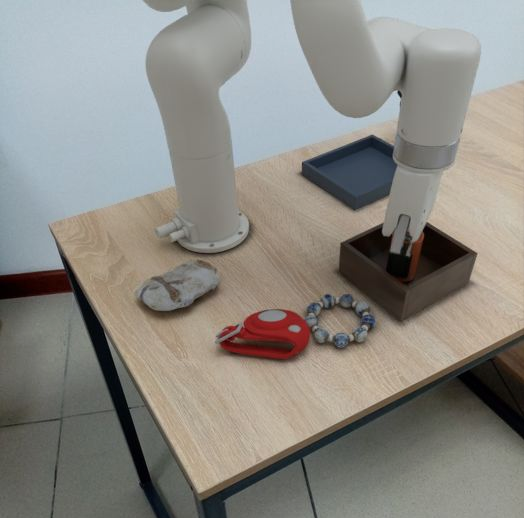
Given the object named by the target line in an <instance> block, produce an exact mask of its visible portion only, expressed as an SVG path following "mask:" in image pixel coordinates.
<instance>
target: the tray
mask: <svg viewBox="0 0 524 518" xmlns="http://www.w3.org/2000/svg"><path fill="white" fill-rule="evenodd" d="M393 151H394V144H391V142H390V143H389V142H388V141H386V140H384V139H382V138H380V137H378V136H376V135H375V134H373V133H372V134H370V135H367V136H365V137H362V138H359V139H358V140H355V141H352V142H349V143H347V144H345V145H341V146H339V147H337V148H334V149H332V150H329V151H327V152H324V153H322V154H319V155H316V156H313V157H310V158H309V159H306V160H304V161H303V160H302V161H301V175H302V176H304V177H305V178H307V179H308V180H309V181H311V182H313V183H314V184H316V185H317V186H319V187H320V188H322V189H323V190H325V191H326V192H328V193H329V194H331V195H332V196H333V197H335V198H337V199H338V200H340V202H342V203H344V204H346V205H347V206H349V208H351V209H353V210H355V211H356V210H358V209H361V208H362V207H364V206H367V205H369V204H371V203H373V202H375V201H377V200H380V199H382V198H384V197H387V196H388V195H390V190H391V186H392V182H393V178H394V175H395V171H396V168H397V164H396V163H395V161H394V160H393Z"/></svg>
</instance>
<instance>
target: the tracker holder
mask: <svg viewBox="0 0 524 518" xmlns="http://www.w3.org/2000/svg"><path fill="white" fill-rule="evenodd" d="M215 337H216V339H215V341H214V344H215V345H219V346H220V347H221V348H222V349H224V350H226V351H228V352H231V353H236V354H242V355H249V356H256V357H264V358H270V359H271V358H272V359H279V360H285V359H289V358H292V357H293V356H295V355H297V354H299V353H301V352H302V351H303V350H305V349H306V348H307V346H308V345H309V342H310V338H311V330H309V327H308V325H307V323H306V322H305V321H304V318H303V317H302V316H301V315H299V314H298V313H297V312H295V311H292V310H289V309H283V308H281V309H279V308H273V309H272V308H271V309H265V310H259V311H256V312H254V313H251V314H250V315H248V316H246V318H245V319H244V321H243V322H242V321H241V322H239V323H238V324H237V323H236V324H235V325H228V326H225V327H223V329H222V330H221V331H220V332H218V333H217V334H216V335H215ZM235 339H240V340H247V341H248V340H249V341H266V342H267V341H268V342H269V341H271V342H272V341H273V342H284V343H288V344H292V345H294V347H293V349H288V348H278V347H272V346H271V347H269V346H262V345H252V344H242V343H237V342H234V341H235Z"/></svg>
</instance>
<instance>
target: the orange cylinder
mask: <svg viewBox="0 0 524 518" xmlns="http://www.w3.org/2000/svg"><path fill="white" fill-rule="evenodd" d="M407 234H410V233H409V232H407ZM393 235H394V231H393V232H392V237H391V242H390V248H391V244H392V239H393ZM423 239H424V233H423V232H422V233H421V235H420V237H419V238H418V240H417V241H415V242H414V243H413V247H412V251H411V254H412V255H413V257H412V261H411V266H410V271H409V275H408V277H407V278H401V277H398V276H394V275H392V276H393V277H394V278H396V279H397V280H398V281H400V282H408V281H410V280H412V279H413V278H414V277H415V274H416V270H417V265H418V261H419V257H420V252H421V248H422V244H423ZM408 243H409V241H404V245H403V246H406V247H408ZM390 248H389V251H390ZM388 256H389V254H388ZM387 262H388V260H387ZM386 268H387V265H386Z"/></svg>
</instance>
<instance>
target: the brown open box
mask: <svg viewBox="0 0 524 518" xmlns="http://www.w3.org/2000/svg"><path fill="white" fill-rule="evenodd" d="M383 224H384V221H383V222H381V223H379V224H377V225H375V226H373V227H371V228H369V229H367V230H364V231H363V232H360V233H358V234H356V235H353V236H352V237H350V238H348V239H345V240H343V241H341V242H340V247H339V260H338V273H339V274H341V276H343V277H344V278H345V279H347V280H348V281H349V282H351V284H352V285H354V286H356V287H357V288H358V289H359V290H360V291H362V292H363V293H364V294H365V295H366V296H367V297H369V298H370V299H371V300H372V301H375V302H376V303H377V304H378V305H379V306H380V307H381V308H383V309H384V310H385V311H387V312H388V313H389V314H390V315H391V316H393V317H394V318H395V319H397V320H398V321H399V322H402V321H404V320H406V319H408V318H409V317H411V316H413V315H415V314H417V313H418V312H421V311H422V310H425V308H427V307H429V306H431V305H432V304H435V303H436V302H438V301H440V300H441V299H443V298H445V297H446V296H449V295H450V294H452V293H454V292H455V291H457V290H459V289H460V288H462V287H464V286H466V285H468V284H469V283H470V280H471V277H472V273H473V270H474V267H475V264H476V260H477V257H478V252H477V251H475V250H473V249H472V248H471V247H469V246H467V245H465V244H463V243H462V242H461V241H459V240H457V239H455V238H454V237H452V236H451V235H449V234H448V233H446V232H444V231H443V230H441V229H439V228H438V227H436V226H434V225H433V224H431V223H430V222H428V221H427V222H426V225H425V227H424V229H423V231H422V232H423V233H424V239H423V244H422V248H421V252H420V257H419V261H418V265H417V270H416V274H415V277H414V278H413V279H412V280H410V281H408V282H400V281H398V280H397V279H396V278H394V277H393V276H392V275H390V274H389V273H388V272H386V265H387V260H388V254H389V248H390V242H391V237H392V234H391V235H390V236H389V237H388V236H384V235H383V234H382V229H383Z"/></svg>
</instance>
